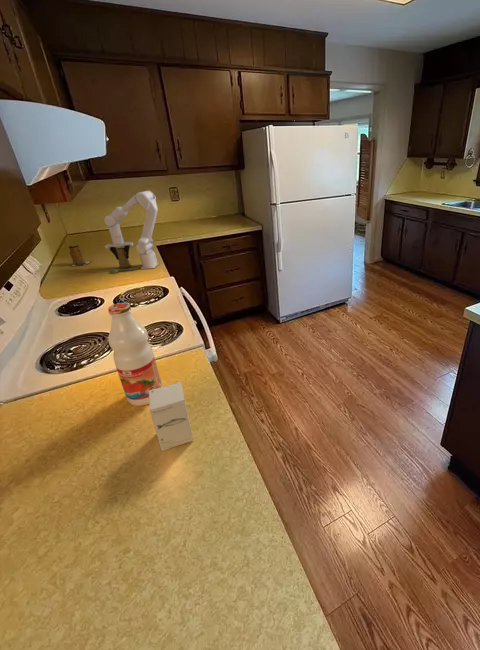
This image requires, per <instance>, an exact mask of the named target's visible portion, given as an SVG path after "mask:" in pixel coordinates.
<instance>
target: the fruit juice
mask: <svg viewBox="0 0 480 650" xmlns="http://www.w3.org/2000/svg"><path fill="white" fill-rule="evenodd" d="M107 310H108V314H109V316H111V325H110V331H109V334H108V336H107V341H108V345H109V347H110V348H111V350H112V352H113V356H112V357H113V362H114V365H115V368H116V371H117V375H118V377H119V380H120V383H121V386H122V389H123V392H124V394H125V397H126V400H127V402H128V403H129V404H130V405H132V406H135V407H142V406H147V405H150V404H149V390H153V389H157V388H160V387H163V382H162V380H161V377H160V372H159V368H158V364H157V362H156V361H157V360H156V357H155V353H154V350H153V347H152V346H151V344H150V342H148V341H149V340H148V339H149V334H148V331H147V329H146V328H145V326H144V325H143V324H141V323H139V321H138V320H137V319H136V318H135V317H134V315H133V314H132V307H131V304H130V303H128V302H125V301H124V302H117V303H114V304H112V305H110V306H109V307H108V309H107Z"/></svg>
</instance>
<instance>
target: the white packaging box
mask: <svg viewBox="0 0 480 650" xmlns="http://www.w3.org/2000/svg"><path fill="white" fill-rule="evenodd" d="M148 405H149V412H150V416H151V419H152V424H153V426H154V430H155V433H156V437H157V441H158V443H159V447H160V451H161V452H164V451H166V450H169V449H172V448H174V447H175V448H176V447H179V446H180V445H183V444H187V443H190V442H194V436H193V431H192V426H191V421H190V416H189V411H188V406H187V402H186V397H185V393H184V388H183V383H182V381H179V382H176V383H175V382H174V383H172V384H169V385H163V386H162V387H160V388H157V389H153V390H149V404H148Z"/></svg>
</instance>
